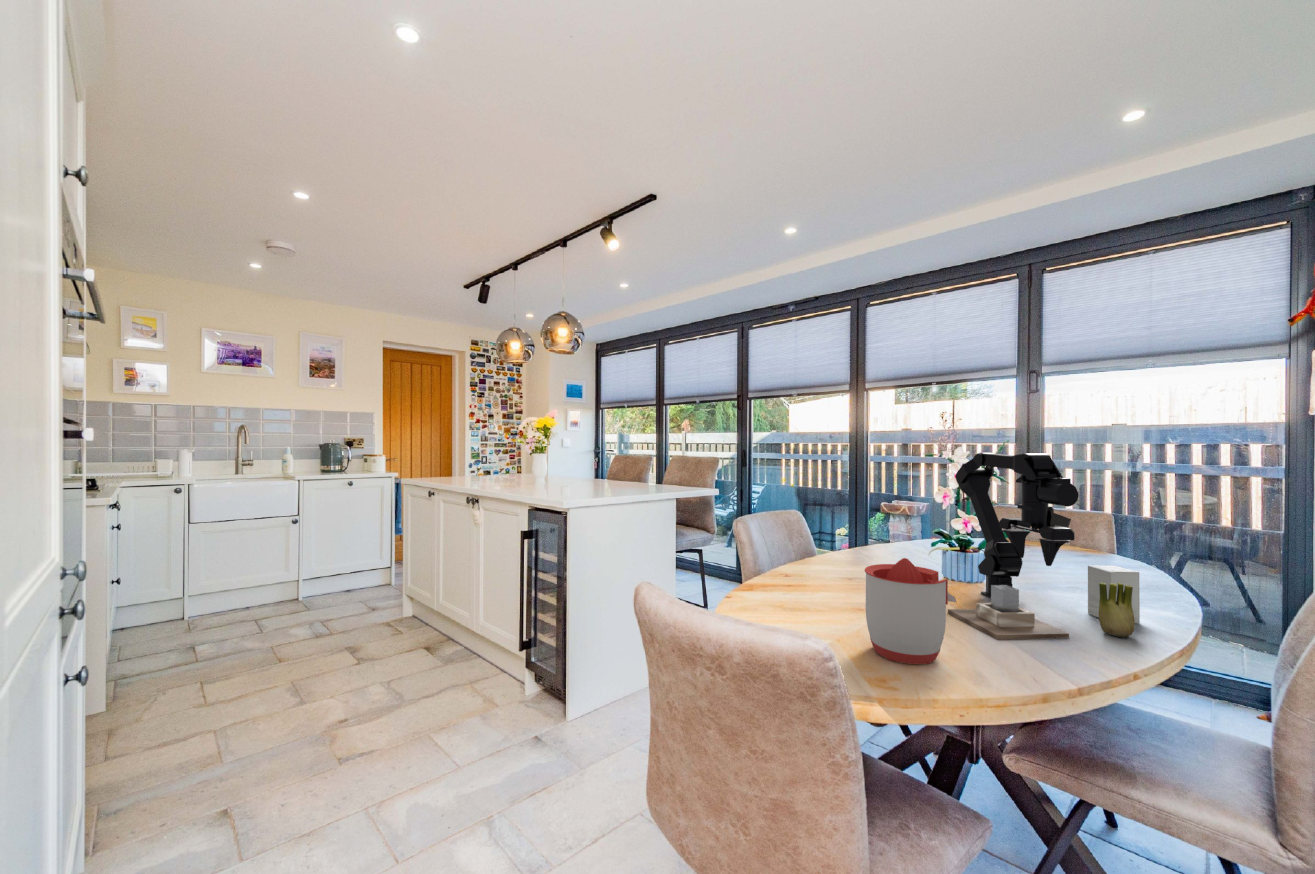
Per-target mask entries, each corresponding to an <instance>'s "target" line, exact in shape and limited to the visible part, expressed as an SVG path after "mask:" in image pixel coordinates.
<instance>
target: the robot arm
mask: <svg viewBox="0 0 1315 874" xmlns="http://www.w3.org/2000/svg"><path fill="white" fill-rule="evenodd" d="M982 467H984V468H982ZM995 468H998V469H999V468H1000V469H1009V470H1012V471H1014V473H1016V474H1019V475H1020V476H1019V477H1018V478H1017V479H1015V483H1017V484H1021V504H1020V503H1019V504H1016V505H1017V507H1016V508H1017V509H1020V510H1021V511H1020V513H1021V518H1020V517H1002V518H1001V519H1000V520H999V518H998V515H997V512H996V510H995V507H994V504H993V503H992V500H991V497H990V495H989V494H990V493H989V490H990V488H991V480H990V479H991V478H993V476H994V475H995V470H994V469H995ZM955 480H956V483H957V485H958V487H959V489H960V491H962V492H963V493H964V494H965V495H966V496H967V497H968V498H969V500H970V501H971V502H970V503H971V505H972V507H973V510H974V513H975V515H976V518H977V521H978V524H979V527H980V528H981V529H980V530H981V532H982V535H983V537H984V541H985V547H984V551H983V555H984V558H983V560H982V561H981V562H980V563H979V564H978V565H977V568H978V572H979V574H981V575H984V576H985V591H980V594H982V595H984V596H986V597H988V598H991V585H1008V586H1011V587H1013V577H1016V578H1017V577H1019V576H1020V573H1021V570H1022V567H1023V563H1024V562H1023V558H1024V556H1025V549H1026V538H1027V537H1028V536H1029V534H1030V533H1031V532H1033V533H1037V534H1039V535H1040V536H1041V538H1039V539H1038V540H1039V543H1040V546H1041V552H1042V556H1043V560H1044V564H1045V566H1047V567H1052V565H1053V563H1054V561H1055V558H1056V556H1057V554H1058V552H1059V550H1060V549H1061V547H1062V546H1063V545H1064V544H1066V543H1067V544H1068V543H1070V542H1071V541H1075V540H1076V539H1075V537H1076V536H1075V531H1074V530H1073V528H1070V524H1071V523H1072V519H1071V518H1069V517H1066V516H1064V515H1062V514H1058V513H1056V512H1055V509H1054V508H1053V506H1052V505H1054V506H1060V507H1061V506H1062V507H1066V508H1067V507H1072V506H1074V505H1075V504H1076V503H1077V502H1078V501H1079V496H1080V495H1079V492H1078V489H1077V487H1076V485H1074V484H1072V483H1071V480H1072V479H1071V478H1069V477H1068V478H1067V477H1063V475H1062V473H1061V472H1060V470H1059V469H1058V467H1057V465H1056V464H1055V462H1054V460H1053V459H1052V457H1051V455H1050V454H1049V453H1019V454H1015V455H1013V454H1011V455H1010V454H1002V453H994V452H978V453H976V454H975V455H974V456H973V458H971V459H970V460H968V461H967V462H965V463H963V464H962V465H961V467H960V468H959V469H958V470H957V472H956V474H955ZM1050 505H1051V506H1050ZM1006 537H1007V538H1008V539H1007V538H1006Z"/></svg>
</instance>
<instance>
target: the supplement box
mask: <svg viewBox="0 0 1315 874" xmlns="http://www.w3.org/2000/svg"><path fill="white" fill-rule="evenodd" d="M1099 583H1105V584H1106V587H1107V600H1108V598H1109V588H1110V584H1112V583H1114V584H1116V586H1117V590H1118V583H1121V584H1123V585H1124V588H1125V585H1129V586H1132V587H1133V590H1132V609H1133V614H1134V621H1135V624H1140V622H1141V621H1140V618H1141V617H1140V616H1141V615H1140V613H1141V612H1140V611H1141V610H1140V572H1139V571H1136V570H1133V569H1128V568H1125V567H1121V566H1118V565H1110V564H1109V565H1107V564H1105V565H1101V564H1100V565H1097V564H1096V565H1095V564H1093V565H1087V614H1088V615H1090V616H1093V617H1095V618H1098V619H1099V603H1100V587H1099ZM1124 588H1123V592H1124ZM1116 599H1117V593H1116ZM1116 601H1117V600H1116Z"/></svg>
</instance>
